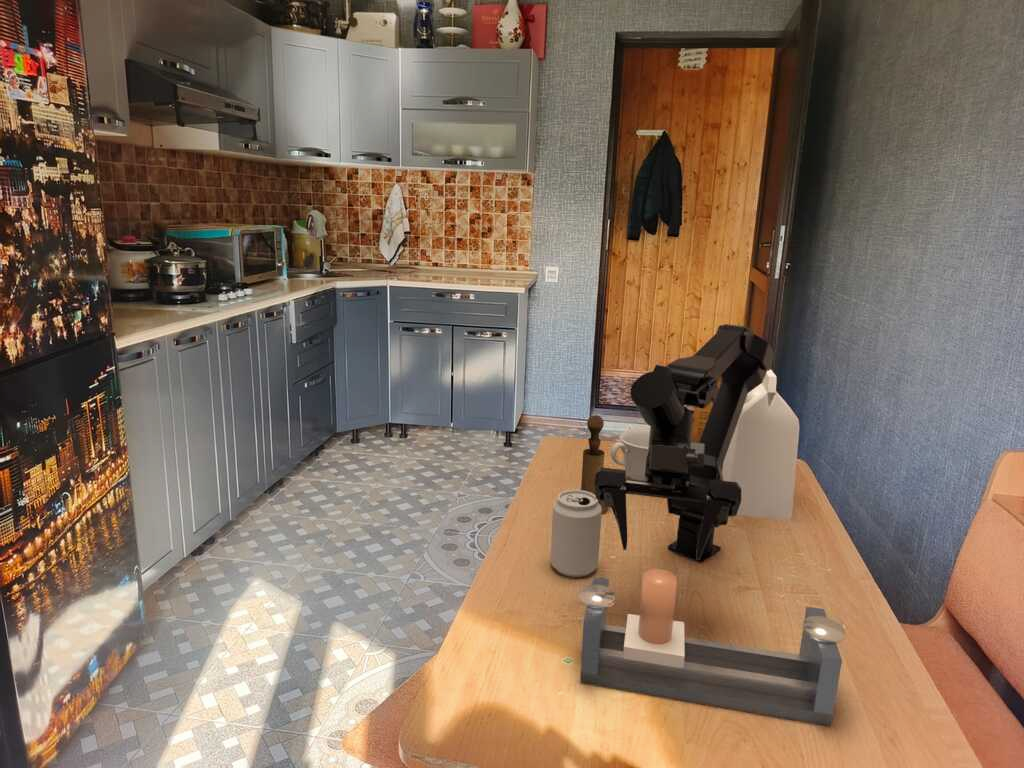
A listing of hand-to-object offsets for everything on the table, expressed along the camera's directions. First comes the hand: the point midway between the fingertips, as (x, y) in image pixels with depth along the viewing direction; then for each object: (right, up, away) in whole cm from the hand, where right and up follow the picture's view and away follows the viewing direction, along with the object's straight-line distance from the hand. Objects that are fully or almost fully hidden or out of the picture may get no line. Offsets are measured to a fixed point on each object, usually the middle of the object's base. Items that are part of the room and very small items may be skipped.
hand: (660, 554), depth 89 cm
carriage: (-2, -10, -4) cm, 11 cm away
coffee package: (+25, +4, +65) cm, 70 cm away
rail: (+4, -14, -4) cm, 15 cm away
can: (-9, -7, +20) cm, 24 cm away
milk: (+27, -2, +45) cm, 53 cm away
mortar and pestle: (-4, -2, +42) cm, 42 cm away
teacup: (+7, +1, +53) cm, 53 cm away
